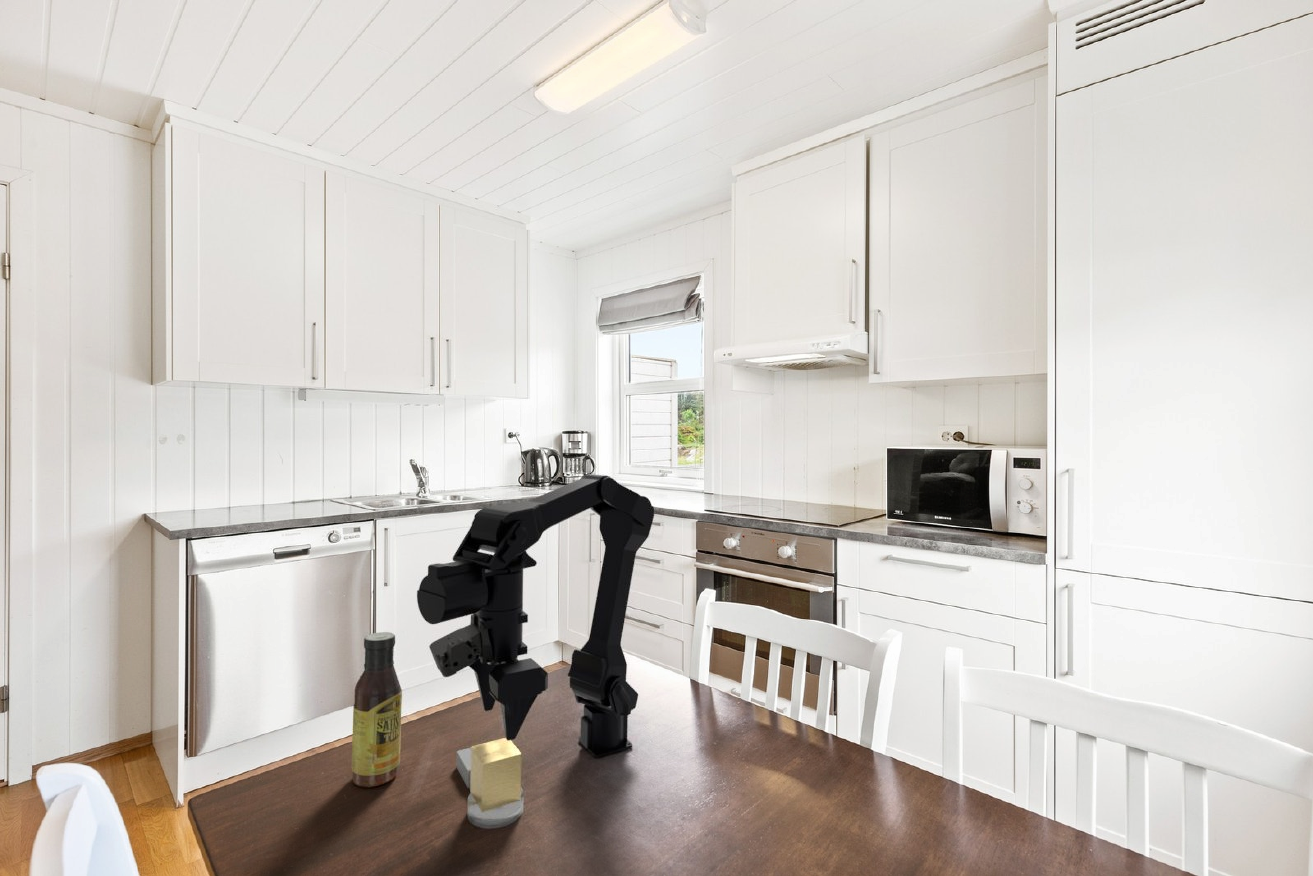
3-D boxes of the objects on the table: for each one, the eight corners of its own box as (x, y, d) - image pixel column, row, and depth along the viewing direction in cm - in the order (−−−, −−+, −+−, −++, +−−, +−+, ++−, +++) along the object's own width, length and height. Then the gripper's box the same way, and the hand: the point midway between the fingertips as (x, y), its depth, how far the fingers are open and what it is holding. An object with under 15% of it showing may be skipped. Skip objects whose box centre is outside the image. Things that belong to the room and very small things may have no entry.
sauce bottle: (381, 793, 85) (383, 646, 84) (341, 786, 86) (342, 642, 85) (410, 767, 91) (411, 631, 91) (371, 761, 92) (373, 627, 92)
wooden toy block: (507, 781, 85) (508, 737, 85) (520, 800, 80) (521, 753, 80) (470, 792, 82) (471, 746, 82) (482, 812, 78) (482, 764, 78)
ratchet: (531, 817, 80) (531, 775, 80) (476, 835, 76) (476, 791, 76) (491, 758, 94) (492, 721, 94) (443, 770, 90) (444, 733, 90)
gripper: (420, 596, 85) (419, 710, 85) (455, 637, 69) (454, 776, 70) (500, 586, 91) (499, 692, 91) (550, 621, 75) (548, 750, 76)
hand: (498, 724), depth 82 cm, fingers open, 9 cm apart
